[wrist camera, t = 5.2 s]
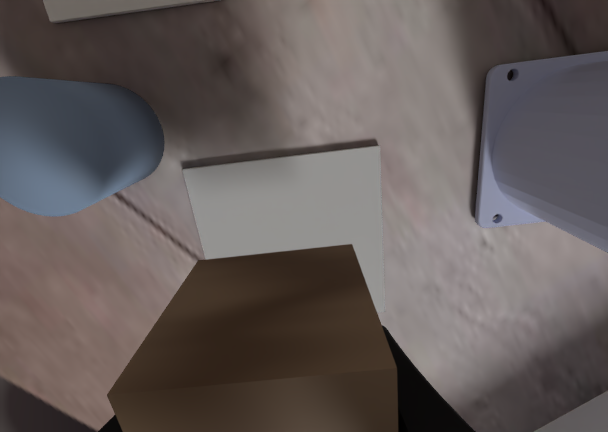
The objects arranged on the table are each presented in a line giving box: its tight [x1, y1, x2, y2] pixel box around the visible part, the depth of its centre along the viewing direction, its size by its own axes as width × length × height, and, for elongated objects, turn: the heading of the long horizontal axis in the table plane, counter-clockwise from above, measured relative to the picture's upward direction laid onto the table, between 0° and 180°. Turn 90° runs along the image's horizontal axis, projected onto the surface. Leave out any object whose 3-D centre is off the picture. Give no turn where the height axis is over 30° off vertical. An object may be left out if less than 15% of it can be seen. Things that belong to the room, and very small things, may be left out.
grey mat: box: [182, 145, 385, 313], centre depth 17 cm, size 10×10×1 cm
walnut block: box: [107, 244, 398, 432], centre depth 8 cm, size 5×5×5 cm
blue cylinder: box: [0, 76, 164, 216], centre depth 13 cm, size 5×5×5 cm
